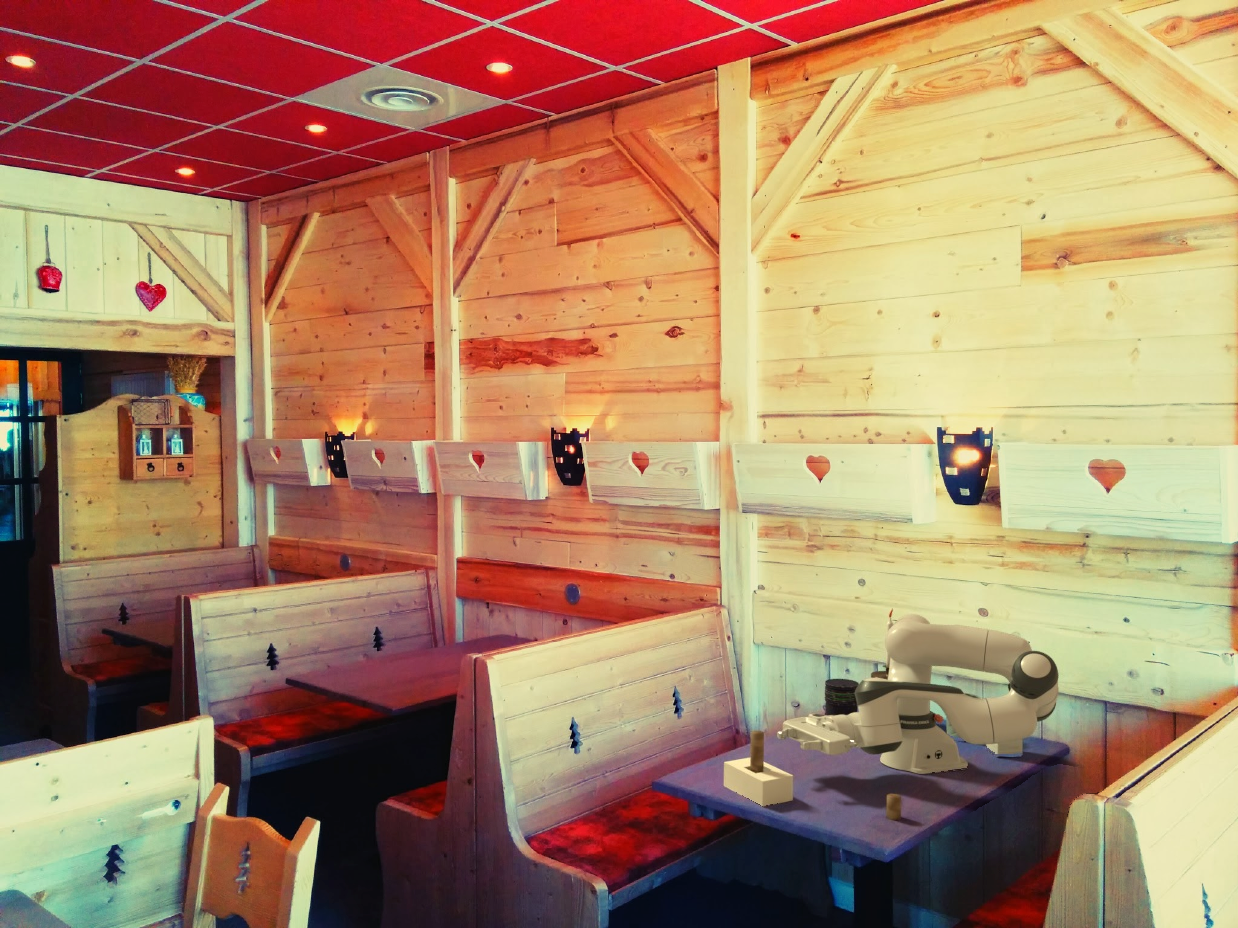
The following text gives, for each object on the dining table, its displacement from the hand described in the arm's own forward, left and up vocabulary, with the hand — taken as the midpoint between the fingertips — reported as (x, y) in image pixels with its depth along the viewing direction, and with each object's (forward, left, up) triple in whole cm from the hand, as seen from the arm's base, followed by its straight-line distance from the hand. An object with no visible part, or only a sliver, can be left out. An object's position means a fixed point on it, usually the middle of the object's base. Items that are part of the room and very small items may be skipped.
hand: (790, 740), depth 258 cm
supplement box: (-67, -19, -12) cm, 70 cm away
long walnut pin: (+9, +4, -12) cm, 15 cm away
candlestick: (-47, -52, -12) cm, 71 cm away
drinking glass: (-62, -34, -12) cm, 71 cm away
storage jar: (-28, -42, -12) cm, 52 cm away
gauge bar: (+9, +4, -12) cm, 15 cm away
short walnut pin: (-18, +23, -12) cm, 31 cm away
